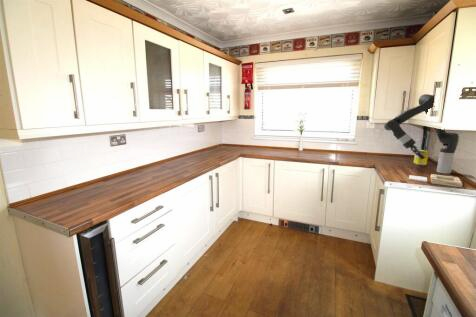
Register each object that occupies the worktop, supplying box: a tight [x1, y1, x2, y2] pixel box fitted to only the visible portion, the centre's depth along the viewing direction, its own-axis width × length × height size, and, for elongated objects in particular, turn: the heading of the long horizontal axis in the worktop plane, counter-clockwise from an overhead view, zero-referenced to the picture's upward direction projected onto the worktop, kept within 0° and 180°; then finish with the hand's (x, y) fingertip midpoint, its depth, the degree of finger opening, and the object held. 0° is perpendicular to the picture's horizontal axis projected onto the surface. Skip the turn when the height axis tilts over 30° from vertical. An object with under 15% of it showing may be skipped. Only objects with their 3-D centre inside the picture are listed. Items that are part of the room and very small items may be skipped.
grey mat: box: [408, 174, 428, 183], centre depth 179 cm, size 12×11×1 cm
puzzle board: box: [429, 173, 463, 188], centre depth 172 cm, size 20×16×2 cm
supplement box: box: [413, 149, 429, 167], centre depth 176 cm, size 6×6×11 cm
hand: (423, 157), depth 175 cm, fingers closed on supplement box, 8 cm apart
